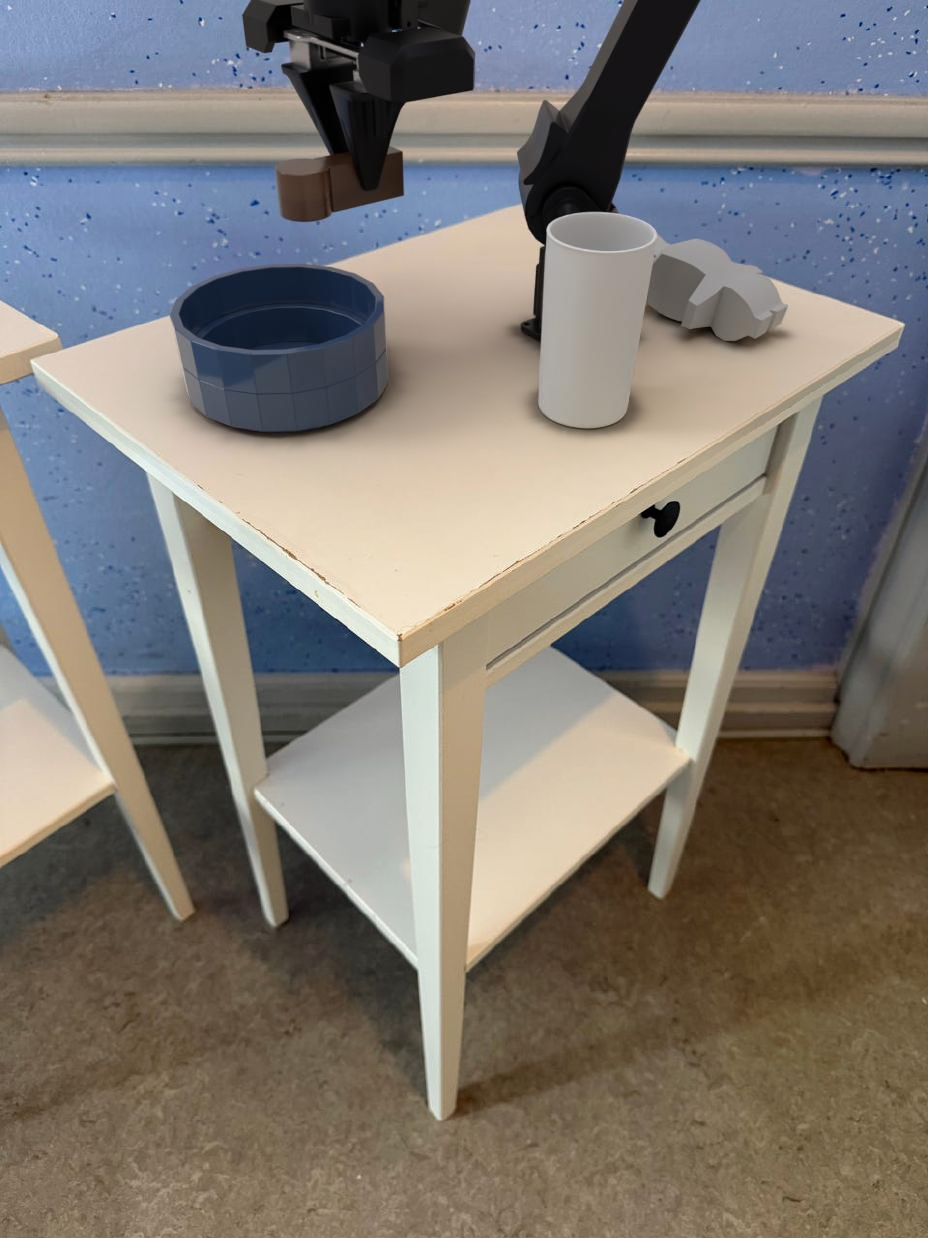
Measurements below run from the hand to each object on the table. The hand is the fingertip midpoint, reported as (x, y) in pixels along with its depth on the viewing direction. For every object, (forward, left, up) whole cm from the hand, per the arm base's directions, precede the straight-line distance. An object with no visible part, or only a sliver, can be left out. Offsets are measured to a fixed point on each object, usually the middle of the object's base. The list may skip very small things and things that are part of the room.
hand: (360, 184), depth 64 cm
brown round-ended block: (0, +1, -1) cm, 2 cm away
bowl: (-3, +9, -11) cm, 15 cm away
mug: (-18, -7, -11) cm, 22 cm away
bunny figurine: (-13, -23, -11) cm, 29 cm away
